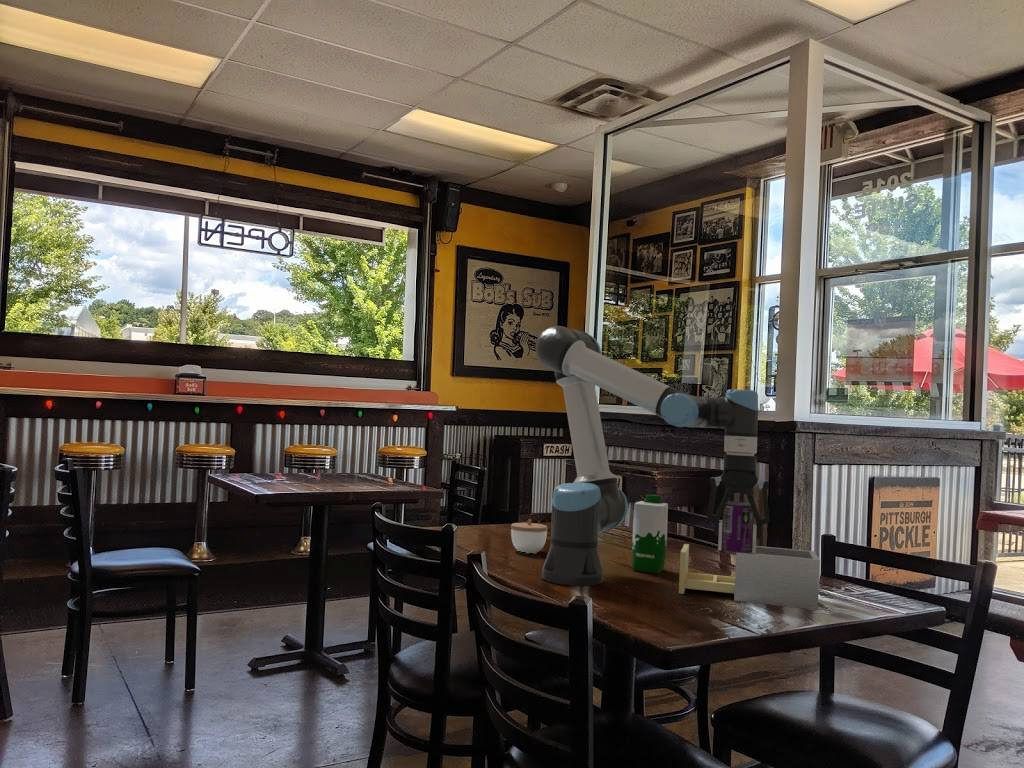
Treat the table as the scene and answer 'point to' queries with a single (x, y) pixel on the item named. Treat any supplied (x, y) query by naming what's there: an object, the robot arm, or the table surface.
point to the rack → (702, 578)
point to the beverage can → (737, 527)
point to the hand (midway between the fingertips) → (736, 550)
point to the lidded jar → (528, 536)
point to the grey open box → (778, 577)
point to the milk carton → (649, 534)
